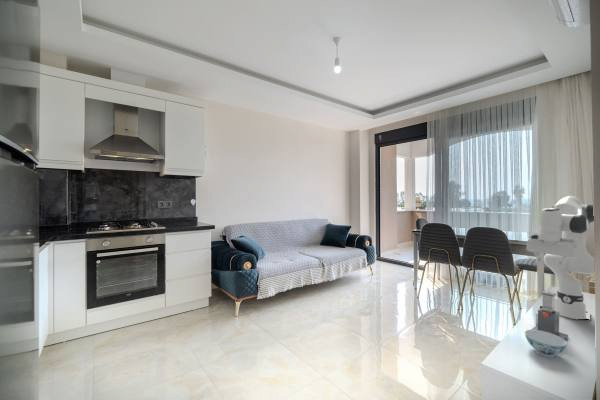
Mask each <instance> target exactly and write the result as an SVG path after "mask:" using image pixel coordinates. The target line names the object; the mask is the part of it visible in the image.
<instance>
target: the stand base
mask: <svg viewBox="0 0 600 400" xmlns="http://www.w3.org/2000/svg"><path fill="white" fill-rule="evenodd" d="M542 309H543V308H541V309H540V308H539V309H538V310H537V312H538V325H537V324H536V325H535V326H534V327H532V328H531V329H530V330H540V331H544V332H548V333H551V334H554V335H557V336H559V337H561V338H562V339H564V340H565V341H566V340H568V338H569V334H567V333H563V332H561V331H560V315H559V312H557V311H555V313H554V314H552V313H548V312H545V311H542Z"/></svg>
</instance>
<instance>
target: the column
mask: <svg viewBox="0 0 600 400" xmlns="http://www.w3.org/2000/svg"><path fill="white" fill-rule="evenodd" d="M541 295H542V305H543V309H542V311H545V312H548V313H552V314H554V313H555V298H556V296H557V292H551V291H547V290H544V291H542V292H541Z"/></svg>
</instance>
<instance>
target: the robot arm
mask: <svg viewBox="0 0 600 400" xmlns="http://www.w3.org/2000/svg"><path fill="white" fill-rule="evenodd" d="M582 202H583V201H582V200H581V199H580V198H579V197H578V196H574V195H567V196H564V197H562V198H561V199H559V200H558V201H557V202H556V203H555V204H554V205H552V207H544V208H542V209H541V214H540V219H539V221H540V222H539V223H540V224H539V225H540V229H539V233H535V234H530V235H528V238H529V239H528V240H527V242H526V247H525V249H526V251H527V252H531V253H534V256H535V258H536V261H537V262H541V261H542V257H540V256H539V254H545V255H544V257H543V262H544V265H545V266H546V267H547V268H549V269H550V270H551V271H552V272H553V274H554V275H555V277H556V280H557V290H556V297H555V311H557V312H559V316H561V317H564V318H567V319H572V320H578V319H587V318H586V313H588V312H589V311H587V306H586V303H585V302H584V299H585V297H584V294H583V283H582V282H581V280H580V279H578V278H576V277H575V276H573V275H572V274H571V273H576V274H580V275H581V274H582V275H595V274H594V259H595V257H593V256H592V255H591V254H590V253H589V252H588V250H587V245H586V243H587V234H588V233H587V231H588V230H589V226H590V224H591V223H593V222H595V221H594V216H593V205H592V204H583V203H582Z"/></svg>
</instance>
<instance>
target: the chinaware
mask: <svg viewBox="0 0 600 400" xmlns="http://www.w3.org/2000/svg"><path fill="white" fill-rule="evenodd" d="M524 335H525V338H526V340H527V343H528V344H529V345H530V346H531V347H532V348H533V349H534V350H535V352H536V351H537V352H538V353H537V352H536V353H537V354H539V355H541V354H542V355H541V356H543V355H544V357H548V358H554V357H555V356H556V355H559V354H561V353H564V351H565V350H566V348H567V345H568V343H567V341H566V340H564V339H562V338H561V337H559V336H557V335H554V334H551V333H548V332H544V331H540V330H531V329H527V330H525V332H524Z"/></svg>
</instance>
